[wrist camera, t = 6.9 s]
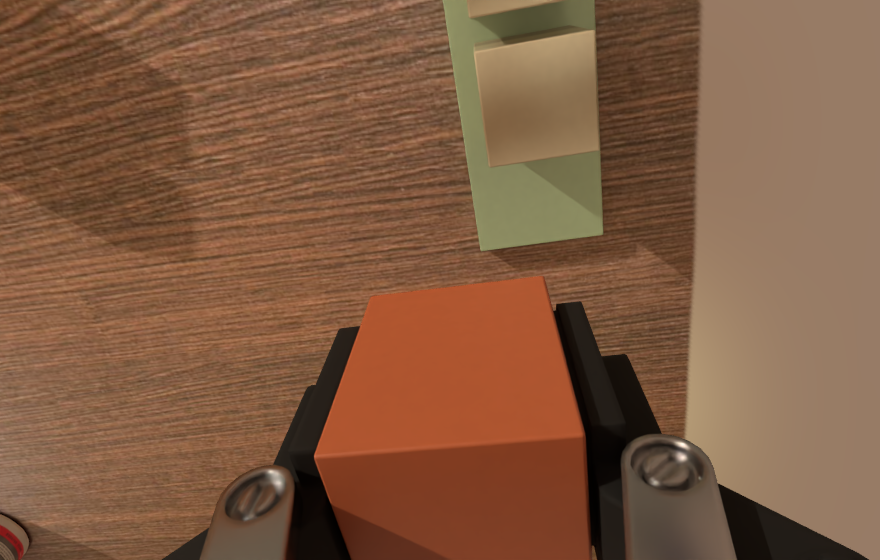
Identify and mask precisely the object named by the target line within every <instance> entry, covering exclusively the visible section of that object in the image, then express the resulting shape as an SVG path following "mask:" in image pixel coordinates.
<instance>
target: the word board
mask: <svg viewBox="0 0 880 560" xmlns="http://www.w3.org/2000/svg"><path fill="white" fill-rule="evenodd" d="M443 5H444V11H445V18H446V25H447V31H448V38H449V44H450V51H451V58H452V64H453V71H454V78H455V84H456V91H457V97H458V104H459V111H460V117H461V124H462V131H463V137H464V144H465V150H466V157H467V164H468V170H469V177H470V183H471V190H472V197H473V203H474V210H475V217H476V223H477V230H478V236H479V243H480V250H481V251H486V250H494V249H501V248H509V247H516V246H524V245H531V244H539V243H546V242H553V241H561V240H568V239H576V238H583V237H591V236H598V235H603V211H602V184H601V157H600V131H599V104H598V77H597V50H596V23H595V0H443Z"/></svg>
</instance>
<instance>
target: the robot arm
mask: <svg viewBox="0 0 880 560" xmlns="http://www.w3.org/2000/svg"><path fill="white" fill-rule="evenodd" d="M553 313H554V316H555V320H556V324H557V328H558V332H559V336H560V339H561V343H562V347H563V351H564V355H565V359H566V362H567V366H568V370H569V374H570V378H571V382H572V385H573V389H574V393H575V397H576V401H577V404H578V408H579V412H580V416H581V420H582V424H583V427H584V431H585V436H586V454H587V472H588V490H589V508H590V526H591V544H592V546H594V547H595V552H596V556H597V560H869V559H867V558H865V557H864V556H862V555H860V554H859V553H857V552H855V551H853V550H851V549H849V548H847V547H845V546H843V545H841V544H839V543H837V542H835V541H833V540H831V539H829V538H827V537H825V536H823V535H821V534H818V533H817V532H815V531H812V530H811V529H809V528H807V527H805V526H803V525H801V524H799V523H797V522H795V521H793V520H790V519H789V518H787V517H785V516H782V515H780V514H779V513H777V512H774V511H772V510H770V509H769V508H766V507H764V506H762V505H760V504H758V503H756V502H754V501H752V500H750V499H748V498H746V497H744V496H742V495H740V494H738V493H736V492H734V491H732V490H730V489H728V488H726V487H724V486H722V485H720V484H718V483H717V479H716V475H715V472H714V468H713V465H712V463H711V461H710V459H709V457H708V456H707V455H706V454H705V453H704V452H703V451H702V450H701V449H700V448H699V447H697V446H696V445H694V444H693V443H691V442H689V441H688V440H685V439H682V438H680V437H677V436H673V435H666V434H662V433H661V431H660V428H659V426H658V424H657V422H656V419H655V417H654V415H653V413H652V410H651V408H650V406H649V404H648V401H647V399H646V397H645V394H644V392H643V390H642V388H641V385H640V383H639V381H638V379H637V376H636V374H635V372H634V370H633V367H632V365H631V363H630V361H629V359H628V357H627V355H625V354H621V355H611V356H601V354H600V351H599V349H598V346H597V343H596V340H595V338H594V335H593V332H592V329H591V327H590V324H589V321H588V319H587V316H586V313H585V310H584V308H583V305H582V303H581V301H579V302H570V303H561V304H556V310H555V311H553ZM359 329H360V326H357V327H349V328H341V329H339V331H338V333H337V335H336V338H335V340H334V342H333V345H332V347H331V350H330V352H329V354H328V357H327V359H326V361H325V364H324V366H323V369H322V371H321V373H320V376H319V378H318V380H317V383H316V385H311V386H309V387H308V388H307V390H306V391H305V393H304V396H303V398H302V400H301V402H300V405H299V407H298V409H297V412H296V414H295V416H294V418H293V421H292V423H291V425H290V428H289V430H288V432H287V434H286V437H285V439H284V441H283V443H282V446H281V448H280V450H279V453H278V455H277V457H276V459H275V462H274V464H273V465H267V466H261V467H258V468H255V469H252V470H249V471H248V472H246V473H244V474H242V475H240V476H239V477H237V478H236V479H235V480H234V481H233V482H231V483H230V484H229V485H228V486H227V488H226V489H225V490H224V491H223V492H222V494H221V496H220V498H219V500H218V502H217V504H216V507H215V511H214V514H213V517H212V520H211V524H210V527H209V528H208V529H206V530H205V531H203V532H202V533H200V534H199V535H197V536H196V537H194V538H193V539H192V540H190V541H189V542H187V543H186V544H184V545H183V546H181V547H180V548H178V549H177V550H175V551H174V552H172V553H171V554H169V555H168V556H166V557H165V558H164V559H162V560H351V558H350V555H349V553H348V550H347V547H346V544H345V542H344V539H343V536H342V533H341V531H340V528H339V525H338V523H337V520H336V517H335V514H334V512H333V509H332V506H331V503H330V501H329V498H328V495H327V492H326V490H325V487H324V484H323V481H322V479H321V476H320V473H319V471H318V468H317V465H316V462H315V460H314V454H315V452H316V449H317V446H318V443H319V440H320V438H321V435H322V432H323V429H324V426H325V424H326V421H327V418H328V415H329V413H330V410H331V407H332V404H333V401H334V399H335V396H336V393H337V390H338V387H339V385H340V382H341V379H342V376H343V373H344V371H345V368H346V365H347V362H348V359H349V357H350V354H351V351H352V348H353V345H354V343H355V340H356V337H357V334H358V331H359Z"/></svg>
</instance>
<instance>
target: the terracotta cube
mask: <svg viewBox="0 0 880 560" xmlns="http://www.w3.org/2000/svg"><path fill="white" fill-rule="evenodd" d="M314 460H315V462H316V465H317V468H318V471H319V473H320V476H321V479H322V481H323V484H324V487H325V490H326V492H327V495H328V498H329V501H330V503H331V506H332V509H333V512H334V514H335V517H336V520H337V523H338V525H339V528H340V531H341V533H342V536H343V539H344V542H345V544H346V547H347V550H348V553H349V555H350V558H351V560H592V544H591V526H590V508H589V490H588V472H587V454H586V436H585V431H584V427H583V424H582V420H581V416H580V412H579V408H578V404H577V401H576V397H575V393H574V389H573V385H572V382H571V378H570V374H569V370H568V366H567V362H566V359H565V355H564V351H563V347H562V343H561V339H560V336H559V332H558V328H557V324H556V320H555V316H554V313H553V309H552V305H551V301H550V297H549V293H548V290H547V286H546V282H545V278H544V277H543V276H537V277H528V278H520V279H511V280H503V281H495V282H486V283H478V284H470V285H461V286H453V287H444V288H436V289H428V290H419V291H411V292H403V293H394V294H386V295H377V296H372V297H371V298H370V301H369V304H368V306H367V309H366V312H365V315H364V317H363V320H362V323H361V326H360V329H359V331H358V334H357V337H356V340H355V343H354V345H353V348H352V351H351V354H350V357H349V359H348V362H347V365H346V368H345V371H344V373H343V376H342V379H341V382H340V385H339V387H338V390H337V393H336V396H335V399H334V401H333V404H332V407H331V410H330V413H329V415H328V418H327V421H326V424H325V426H324V429H323V432H322V435H321V438H320V440H319V443H318V446H317V449H316V452H315V454H314Z"/></svg>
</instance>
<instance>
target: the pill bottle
mask: <svg viewBox="0 0 880 560" xmlns="http://www.w3.org/2000/svg"><path fill="white" fill-rule="evenodd" d="M28 546H29V539H28V537H27V534H26V533H25V531H24V530H23V528H21V527H20V526H19V525H18V524H16V523H15V522H14V521H12V520H11V519H9V518H7V517H5V516H3V515H1V514H0V560H20V559H21V558H22V557H23V555H24V554H25V553H26V551H27V549H28Z"/></svg>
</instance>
